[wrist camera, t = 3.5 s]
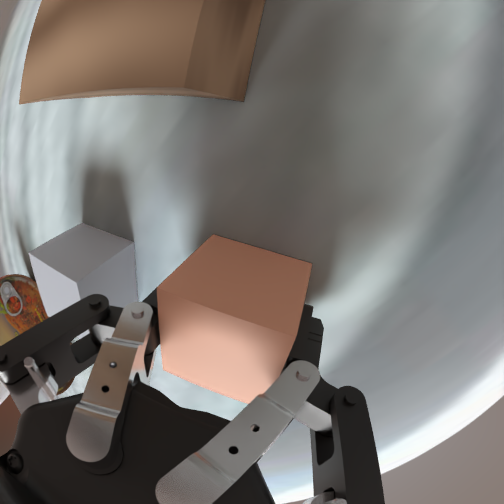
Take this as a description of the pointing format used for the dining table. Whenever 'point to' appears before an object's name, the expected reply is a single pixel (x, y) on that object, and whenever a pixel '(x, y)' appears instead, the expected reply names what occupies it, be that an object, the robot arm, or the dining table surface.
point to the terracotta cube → (231, 316)
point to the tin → (21, 310)
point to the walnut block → (141, 48)
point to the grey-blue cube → (84, 269)
